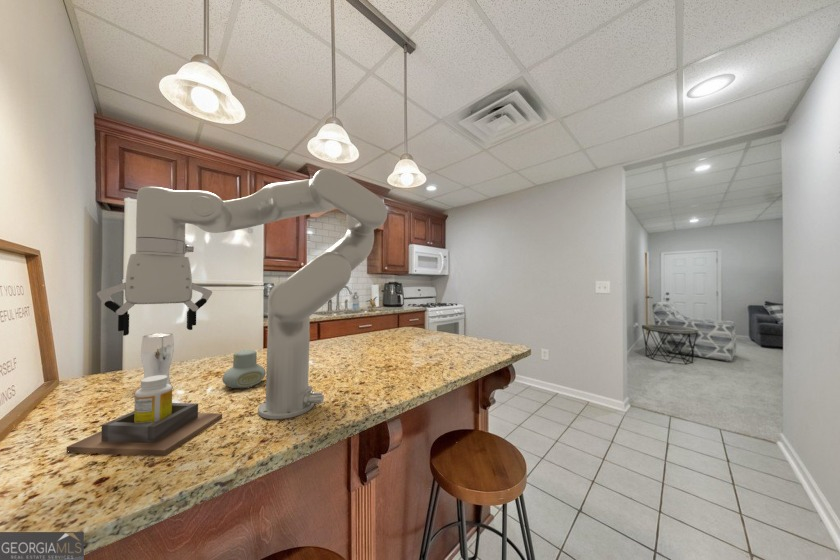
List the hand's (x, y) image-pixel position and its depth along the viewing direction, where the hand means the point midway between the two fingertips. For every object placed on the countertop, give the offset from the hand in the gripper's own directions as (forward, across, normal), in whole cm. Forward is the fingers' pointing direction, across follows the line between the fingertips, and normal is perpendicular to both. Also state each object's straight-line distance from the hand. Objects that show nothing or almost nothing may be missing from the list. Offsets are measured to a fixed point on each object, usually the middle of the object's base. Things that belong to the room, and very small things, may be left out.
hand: (159, 331), depth 58 cm
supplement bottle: (+20, +1, +1) cm, 20 cm away
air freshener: (+21, -20, -18) cm, 34 cm away
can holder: (+20, +1, +1) cm, 21 cm away
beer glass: (+21, -1, -33) cm, 39 cm away
